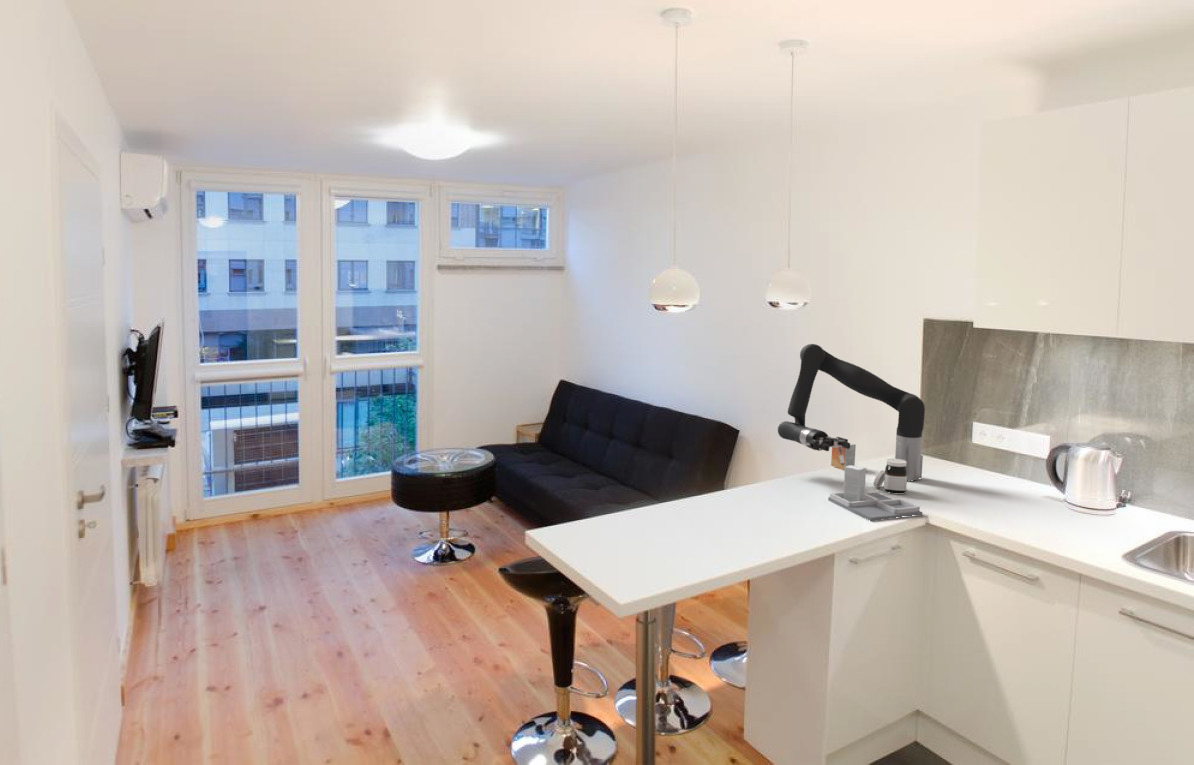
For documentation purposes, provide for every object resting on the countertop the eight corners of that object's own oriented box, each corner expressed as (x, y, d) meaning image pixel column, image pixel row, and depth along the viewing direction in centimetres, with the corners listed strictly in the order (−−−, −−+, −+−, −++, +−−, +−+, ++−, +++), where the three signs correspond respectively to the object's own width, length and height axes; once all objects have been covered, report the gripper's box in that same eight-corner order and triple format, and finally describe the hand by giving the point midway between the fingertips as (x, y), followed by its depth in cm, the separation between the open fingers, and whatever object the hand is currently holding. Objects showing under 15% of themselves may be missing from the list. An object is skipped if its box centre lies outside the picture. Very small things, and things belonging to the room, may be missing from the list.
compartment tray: (876, 495, 268) (876, 488, 268) (922, 515, 245) (922, 507, 245) (828, 500, 263) (828, 492, 262) (870, 521, 240) (870, 513, 239)
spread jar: (907, 496, 267) (909, 464, 266) (874, 493, 271) (875, 462, 269) (904, 487, 279) (906, 457, 277) (872, 484, 282) (874, 455, 280)
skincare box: (864, 501, 257) (866, 467, 256) (859, 503, 254) (860, 470, 253) (848, 497, 262) (850, 464, 260) (842, 500, 259) (844, 466, 257)
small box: (830, 466, 310) (831, 441, 309) (841, 464, 313) (842, 440, 311) (844, 470, 303) (845, 445, 302) (854, 469, 305) (856, 444, 304)
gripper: (797, 430, 279) (821, 438, 263) (830, 427, 283) (856, 435, 267) (797, 450, 280) (821, 459, 264) (830, 446, 284) (855, 455, 268)
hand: (838, 447), depth 266 cm, fingers open, 8 cm apart
